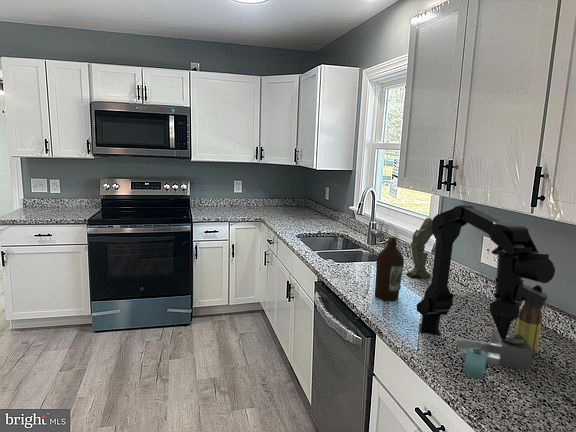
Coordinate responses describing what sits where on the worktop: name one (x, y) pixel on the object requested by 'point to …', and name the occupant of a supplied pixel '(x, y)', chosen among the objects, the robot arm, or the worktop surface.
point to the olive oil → (389, 272)
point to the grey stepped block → (501, 350)
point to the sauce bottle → (530, 325)
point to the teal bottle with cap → (475, 362)
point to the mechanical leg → (420, 250)
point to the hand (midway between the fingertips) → (505, 333)
